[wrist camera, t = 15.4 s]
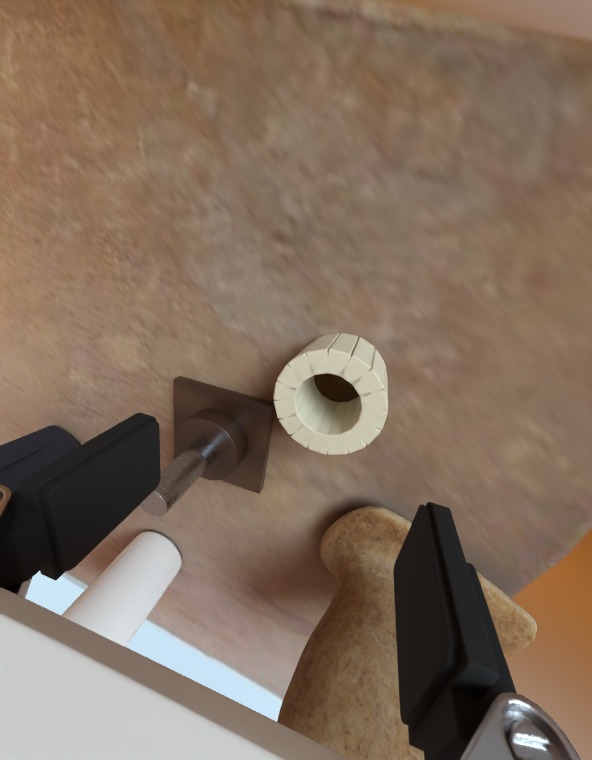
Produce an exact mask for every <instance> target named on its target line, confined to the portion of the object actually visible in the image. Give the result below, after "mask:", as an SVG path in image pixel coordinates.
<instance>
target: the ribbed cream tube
mask: <svg viewBox="0 0 592 760" xmlns="http://www.w3.org/2000/svg"><path fill="white" fill-rule="evenodd" d="M326 373H329V374H333V375H337V376H341V377H342V378H344V379H345V380H346V381H348V382H349V383H351V384H352V385H353V386H354V388H355V390H356V391H357V393H358V394H359V396H358V397H357V398H355V399H353V400H351V401H349V402H336V401H332V400H329V399H328V398H326V397H325V396H323V395H322V394H321V393H320V392H319V390H318V389H317V387H316V385H315V380H314V375H319V374H326ZM273 398H274V406H275V409H276V413H277V417H278V418H280V420H279V421H280V423H281V424H282V426H283V427H284V429H285V430H286V431H287V433H288V434H289V435H291V434H292V435H291V438H293V439H294V440H295V441H297V442H298V443H300V444H301V445H302V446H304V447H305V448H306V447H307V446H308V449H310V450H313V451H316V452H319V453H322V454H326V453H328V455H341V454H347V451H348V453H352V452H354V451H357V450H359V449H362V448H364V447H366V444H367V445H368V444H370V443H371V442H372V440H373V439H374V438H375V437H376V436H377V435H378V434H379V433H380V430H382V429H383V426H384V423H385V419H386V416H387V413H388V382H387V373H386V365H385V364H384V361H383V359H382V357H381V356H380V354H379V353H378V351H377V349H376V348H375V349H374V346H373V345H371V344H370V343H368V342H367V341H365V340H364V339H363V338H361V337H360V338H359V339H358V336H355V335H351V334H346V333H341V334H340V333H333V334H327V335H323V336H321V337H319V338H318V339H316V340H314V341H313V342H311V343H310V344H308V345H307V346H306V347H305V348H304V349H303V350H302V351H301V352H300V353H298V354H297V355H296V356H295V357H294V358H293V359H292V360H291V361H289V362H288V364H287V365H286V366H285V367H284V369H283V370H282V372H281V373H280V375H279V376H278V378H277V381H276V384H275V391H274V397H273Z"/></svg>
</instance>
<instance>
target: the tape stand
mask: <svg viewBox="0 0 592 760" xmlns="http://www.w3.org/2000/svg"><path fill="white" fill-rule="evenodd" d="M274 411H275V406H274V403H272V402H269V401H265V400H262V399H258V398H255V397H251V396H248V395H244V394H241V393H237V392H234V391H230V390H227V389H223V388H220V387H216V386H213V385H209V384H206V383H202V382H199V381H195V380H192V379H188V378H185V377H181V376H179V377H177V378H175V379H174V461H172V462H171V463H170V464H169V465H168V466H167V467H166V468H164V469H163V470H162V471H161V472H160V475H161V479H160V483H159V485H158V487H157V488H156V489H155V490H154V491H153V492H152V493H151V494H150V495H149V496H148V497H147V498H146V499H145V500H144V501H143V502H142V503H141V504H140V506H141V507H142V509H143V510H144V511H146V512H147V513H148V514H150V515H152V516H155V517H161V516H163V515H165V514H166V513H167V512H168V511H169V509H170V508H171V507H172V506H173V505H174V504H175V503H176V502H177V501H178V500H179V499H180V498H181V496H182V495H183V494H184V493H185V492H186V491H187V490H188V489H189V488H190V487H191V486H192V485H193V483H194V482H195V481H196V480H197V479H198V478H199V477H202V478H205V479H208V480H222V481H225V482H228V483H231V484H233V485H236V486H239V487H242V488H245V489H247V490H250V491H253V492H256V493H258V494H260V492H261V491H262V489H263V484H264V477H265V471H266V464H267V457H268V451H269V444H270V437H271V431H272V424H273V417H274Z"/></svg>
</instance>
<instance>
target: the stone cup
mask: <svg viewBox="0 0 592 760" xmlns="http://www.w3.org/2000/svg"><path fill="white" fill-rule="evenodd" d="M411 524H412V522H410V521H409V520H407V519H406V518H404V517H402V516H401V515H399V514H397V513H395V512H393V511H390V510H388V509H386V508H384V507H379V506H365V507H361V508H358V509H356V510H353V511H351V512H349V513H347V514H345V515H343V516H342V517H340V518H339V519H338V520H337V521H336V522H335V523H333V524H332V525H331V526H330V528H329V529H328V530H327V531H326V532H325V534H324V535H323V537H322V542H321V547H320V556H321V558H322V560H323V562H324V563H325V565H326V566H327V567H328V569H329V570H330V571H331V573H332V574H333V575H334V577H335V578H336V579H337V581H338V583H337V591H336V593H335V595H334V597H333V599H332V602H331V604H330V606H329V607H328V609H327V611H326V612H325V614H324V615H323V617H322V618H321V620H320V621H319V623H318V625H317V626H316V628H315V629H314V631H313V633H312V634H311V636H310V638H309V640H308V642H307V644H306V646H305V648H304V650H303V652H302V655H301V657H300V659H299V662H298V664H297V667H296V669H295V672H294V674H293V677H292V680H291V682H290V685H289V687H288V690H287V692H286V695H285V697H284V700H283V703H282V706H281V709H280V713H279V717H278V721H277V722H278V723H280V724H282V725H284V726H286V727H288V728H290V729H292V730H294V731H296V732H298V733H300V734H302V735H304V736H306V737H308V738H310V739H312V740H313V741H315V742H317V743H319V744H321V745H323V746H325V747H327V748H329V749H331V750H332V751H334V752H336V753H338V754H340V755H342V756H344V757H346V758H348V759H350V760H425V759H424V751H422V750H419V749H417V748H415V747H413V746H411V745H409V734H408V725H405V724H403V723H402V720H401V716H400V701H399V681H398V660H397V639H396V618H395V598H394V577H393V572H394V565H395V561H396V559H397V557H398V554H399V552H400V550H401V547H402V545H403V543H404V541H405V538H406V536H407V534H408V531H409V529H410V527H411ZM476 572H477V571H476ZM477 574H478V577H479V580H480V583H481V586H482V590H483V593H484V596H485V599H486V602H487V605H488V608H489V611H490V614H491V617H492V620H493V623H494V626H495V629H496V632H497V635H498V638H499V641H500V644H501V647H502V651H503V654H504V657H505V658H507V657H509V656H511V655H514V654H516V653H517V652H519V651H520V650H521V649H523V648H525V647H526V646H528V645H529V644H530V643H531V642H532V641H533V640H534V638H535V636H536V634H537V625H536V622H535V621H534V619H533V618H532V617H531V616H530V615H529V614H528V613H526V611H524V610H523V609H522V608H521V607H519V606H518V605H517V604H516V603H515V602H514V601H513V600H512V599H510V598H509V597H508V596H507V595H506V594H505V593H503V592H502V591H501V590H500V589H498V588H497V587H496V586H495V585H493V584H492V583H491V582H490V581H488V580H487V579H486V578H485V577H483V576H482V575H481V574H480V573H479V572H477Z"/></svg>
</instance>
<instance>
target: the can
mask: <svg viewBox="0 0 592 760" xmlns="http://www.w3.org/2000/svg"><path fill="white" fill-rule="evenodd" d="M181 561H182V558H181V553H180V551H179V549H178V547H177V546H176V545H175V543H174V542H173V541H172V540H171V539H169V538H168V537H167V536H165V535H163V534H161V533H159V532H156V531H146V532H142V533H140V534H139V535H138V536H137V537H136V538H135V539H134V540H133V541H132V542H131V543H130V544H129V545H128V546H127V547H126V548H125V549H124V550H123V551H122V552H121V553H120V554H119V555H118V556H117V557H116V558H115V559H114V561H113V562H112V563H111V564H110V565H109V566H108V567H107V568H106V569H105V570H104V571H103V572H102V573H101V574H100V575H99V576H98V577H97V578H96V579H95V580H94V581H93V583H92V584H91V585H90V586H89V587H88V588H87V589H86V590H85V591H84V592H83V593H82V594H81V595H80V596H79V597H78V598H77V599H76V600H75V602H74V603H73V604H72V605H71V606H70V607H69V608H68V609H67V610H66V611H65V612H64V613H63V614H62V615H61V616H62V617H64V618H66V619H69V620H71V621H73V622H75V623H77V624H79V625H81V626H83V627H85V628H87V629H89V630H91V631H93V632H95V633H98V634H100V635H102V636H104V637H106V638H108V639H110V640H112V641H114V642H116V643H118V644H120V645H122V646H124V647H126V646H127V645H128V643H129V642H130V640H131V639H132V637H133V636H134V635H135V633H136V632H137V630H138V629H139V627H140V626H141V625H142V623H143V622H144V620H145V619H146V617H147V616H148V615H149V613H150V612H151V610H152V609H153V607H154V606H155V605H156V603H157V602H158V600H159V599H160V597H161V596H162V595H163V593H164V592H165V590H166V589H167V587H168V586H169V584H170V583H171V582H172V580H173V579H174V577H175V576H176V574H177V573H178V571H179V570H180V568H181V564H182V562H181Z"/></svg>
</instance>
